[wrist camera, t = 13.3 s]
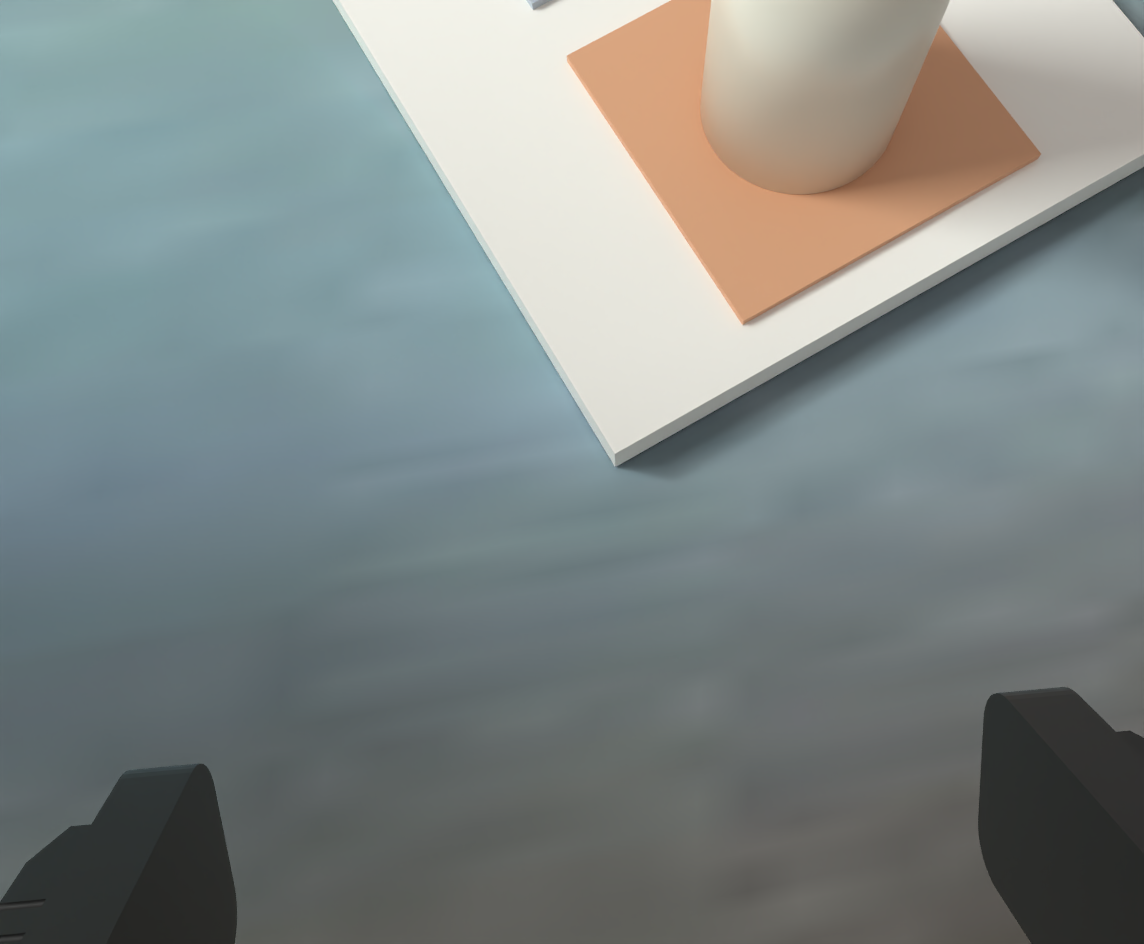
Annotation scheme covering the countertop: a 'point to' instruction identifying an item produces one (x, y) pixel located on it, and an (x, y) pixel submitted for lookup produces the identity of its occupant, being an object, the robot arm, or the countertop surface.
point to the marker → (810, 85)
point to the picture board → (735, 182)
